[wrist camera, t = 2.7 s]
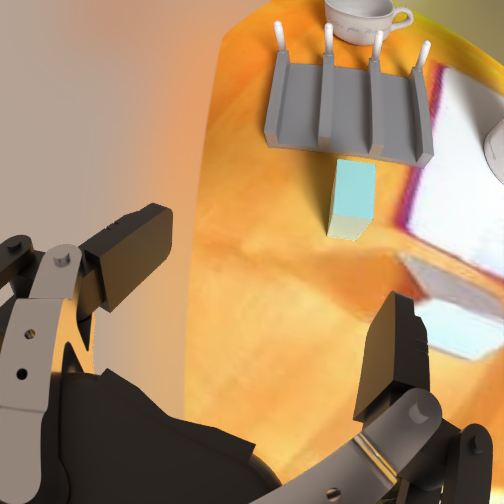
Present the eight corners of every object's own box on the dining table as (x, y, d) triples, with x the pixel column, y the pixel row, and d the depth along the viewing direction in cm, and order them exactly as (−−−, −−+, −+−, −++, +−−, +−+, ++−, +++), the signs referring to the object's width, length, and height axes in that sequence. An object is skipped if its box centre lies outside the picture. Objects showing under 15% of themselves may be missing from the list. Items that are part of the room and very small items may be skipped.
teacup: (319, 46, 38) (317, 8, 30) (330, 11, 38) (329, -22, 31) (406, 67, 35) (417, 32, 27) (407, 30, 35) (415, -3, 28)
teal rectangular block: (359, 199, 34) (375, 164, 24) (356, 240, 33) (372, 219, 23) (331, 195, 34) (337, 158, 25) (326, 236, 34) (332, 213, 24)
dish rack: (415, 85, 34) (432, 40, 24) (423, 168, 32) (452, 130, 23) (281, 68, 38) (271, 19, 28) (268, 147, 37) (254, 102, 27)
